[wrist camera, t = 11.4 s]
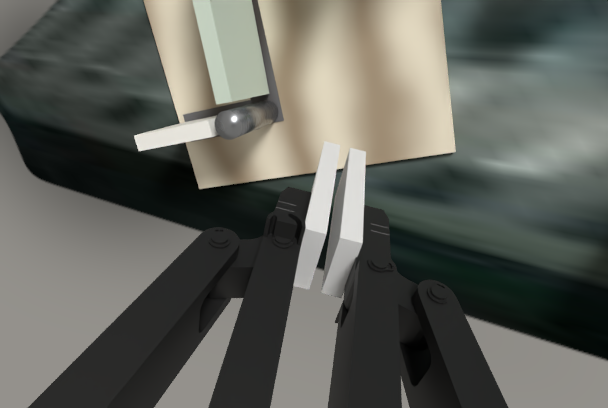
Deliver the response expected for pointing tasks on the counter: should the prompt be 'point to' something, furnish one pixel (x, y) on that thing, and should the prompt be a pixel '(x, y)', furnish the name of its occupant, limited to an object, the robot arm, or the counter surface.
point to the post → (245, 119)
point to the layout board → (318, 85)
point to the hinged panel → (231, 49)
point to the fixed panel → (177, 134)
